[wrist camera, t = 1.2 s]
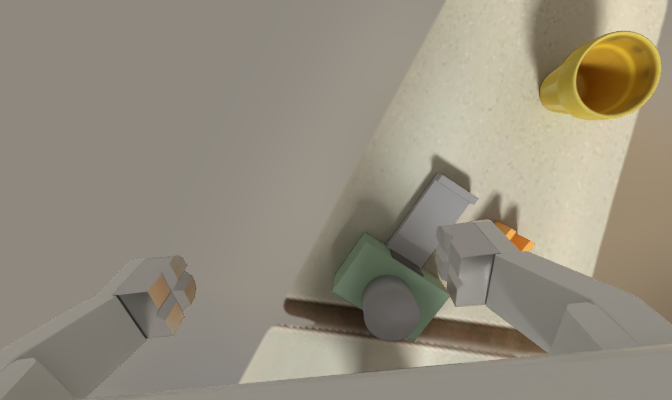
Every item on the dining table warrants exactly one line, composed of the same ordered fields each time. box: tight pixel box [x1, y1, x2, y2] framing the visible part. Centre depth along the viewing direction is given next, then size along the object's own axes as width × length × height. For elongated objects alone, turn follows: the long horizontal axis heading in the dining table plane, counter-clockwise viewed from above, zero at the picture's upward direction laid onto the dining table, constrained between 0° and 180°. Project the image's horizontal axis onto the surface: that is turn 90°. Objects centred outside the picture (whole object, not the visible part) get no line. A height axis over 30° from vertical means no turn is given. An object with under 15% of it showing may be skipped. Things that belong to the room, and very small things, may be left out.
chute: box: [494, 221, 535, 252], centre depth 47 cm, size 5×12×5 cm, turn 148°
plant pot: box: [540, 31, 661, 120], centre depth 40 cm, size 10×10×10 cm
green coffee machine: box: [332, 173, 479, 342], centre depth 45 cm, size 16×25×11 cm, turn 148°
